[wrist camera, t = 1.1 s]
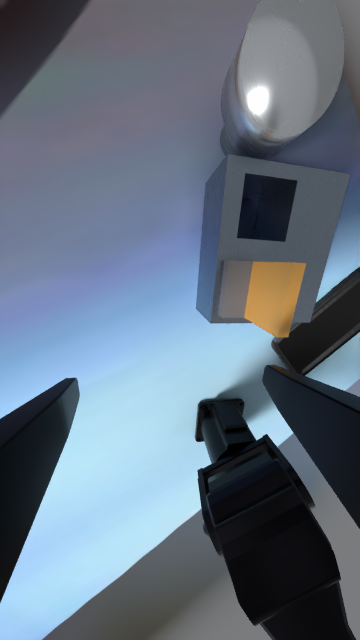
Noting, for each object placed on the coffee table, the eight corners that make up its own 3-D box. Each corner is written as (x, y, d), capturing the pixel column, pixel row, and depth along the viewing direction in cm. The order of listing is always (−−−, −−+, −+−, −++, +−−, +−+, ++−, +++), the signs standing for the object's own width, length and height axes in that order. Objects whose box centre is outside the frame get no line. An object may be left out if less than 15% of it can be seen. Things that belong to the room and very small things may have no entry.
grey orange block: (248, 315, 17) (288, 337, 12) (218, 315, 16) (247, 338, 11) (256, 261, 15) (306, 263, 10) (224, 260, 15) (260, 260, 10)
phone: (388, 308, 25) (298, 380, 26) (378, 306, 26) (292, 376, 27) (371, 261, 22) (271, 344, 23) (361, 261, 23) (266, 341, 24)
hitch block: (275, 309, 23) (309, 322, 18) (195, 308, 21) (210, 323, 16) (300, 195, 19) (350, 174, 14) (205, 182, 17) (228, 154, 13)
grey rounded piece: (260, 183, 18) (326, 140, 11) (200, 175, 17) (235, 123, 10) (273, 102, 16) (359, -4, 10) (207, 87, 15) (253, -42, 9)
